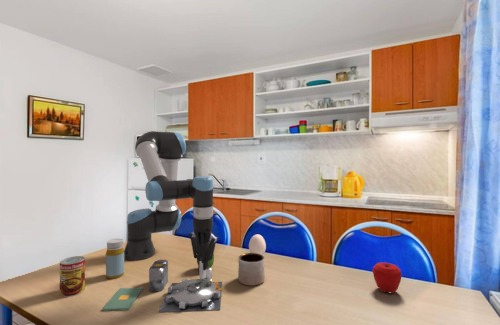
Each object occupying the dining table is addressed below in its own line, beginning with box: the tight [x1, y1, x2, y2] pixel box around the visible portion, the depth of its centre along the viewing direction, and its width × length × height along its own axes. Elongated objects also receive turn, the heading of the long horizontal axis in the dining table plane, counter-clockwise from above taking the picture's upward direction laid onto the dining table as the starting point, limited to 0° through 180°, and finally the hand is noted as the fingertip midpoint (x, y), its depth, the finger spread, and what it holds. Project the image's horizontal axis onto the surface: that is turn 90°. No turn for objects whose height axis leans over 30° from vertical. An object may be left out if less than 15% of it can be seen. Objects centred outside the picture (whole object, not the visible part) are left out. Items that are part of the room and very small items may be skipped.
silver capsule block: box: [148, 259, 169, 293], centre depth 105 cm, size 12×6×8 cm, turn 4°
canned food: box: [59, 255, 86, 298], centre depth 100 cm, size 8×8×12 cm
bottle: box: [105, 238, 125, 280], centre depth 113 cm, size 7×7×15 cm
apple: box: [372, 262, 403, 293], centre depth 101 cm, size 10×10×11 cm
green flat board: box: [101, 287, 144, 312], centre depth 94 cm, size 14×8×1 cm, turn 4°
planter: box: [237, 252, 266, 287], centre depth 109 cm, size 11×11×10 cm
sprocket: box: [165, 267, 220, 309], centre depth 97 cm, size 20×20×8 cm
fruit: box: [196, 254, 215, 268], centre depth 120 cm, size 8×8×12 cm
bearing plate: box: [158, 281, 223, 313], centre depth 97 cm, size 20×20×1 cm
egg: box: [248, 234, 267, 256], centre depth 136 cm, size 9×9×12 cm
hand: (203, 277), depth 102 cm, fingers closed
